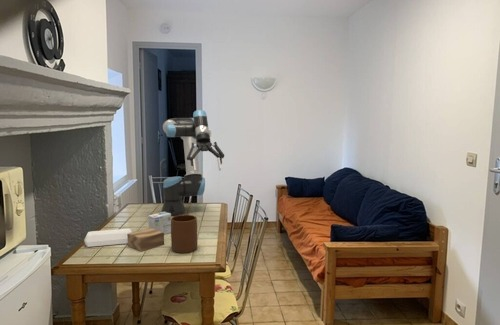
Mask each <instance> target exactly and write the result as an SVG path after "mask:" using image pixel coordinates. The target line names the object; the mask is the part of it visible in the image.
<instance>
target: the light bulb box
mask: <svg viewBox="0 0 500 325" xmlns="http://www.w3.org/2000/svg"><path fill="white" fill-rule="evenodd" d="M171 218H172V216H171V214H170V213H167V212H162V211H161V212H158V213H154V214H148V216H147V220H148V228H152V229H155V230H158V231H160V232H163V233H164V235H166V234H167V235H168V234H171Z"/></svg>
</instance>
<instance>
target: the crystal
mask: <svg viewBox="0 0 500 325" xmlns="http://www.w3.org/2000/svg"><path fill="white" fill-rule="evenodd" d="M132 232H133V230H132V229H131V228H120V229H105V230H93V231H88V232H87V234H86V236H85V237H84V240H83V241H84V244H85V246H86V247H88V248H89V247H99V246H113V245H123V244H128V238H127V234H128V233H132Z"/></svg>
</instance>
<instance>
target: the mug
mask: <svg viewBox="0 0 500 325" xmlns="http://www.w3.org/2000/svg"><path fill="white" fill-rule="evenodd" d="M170 239H171V242H170V243H171V250H172V251H173V252H175V253H178V254H188V253H192V252H195V251H196V250H197V248H198V219H197V217H196V216H195V215H191V214H189V213H187V212H185V213H184V214H182V215H178V216H171V233H170Z"/></svg>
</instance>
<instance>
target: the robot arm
mask: <svg viewBox="0 0 500 325" xmlns="http://www.w3.org/2000/svg"><path fill="white" fill-rule="evenodd" d="M208 123H209V122H208V116H207V113H206V111H205V110H203V109H197V110H194V112H193V114H192V117H173V118H168V119H167V120H165V121H164V122H163V123H162V130H163V132H164V133H165V135H166V137H167V138H180V139H181V140H183V150H184V161H185V173H186V174H185V175H184V177H183V178H182V176H171V177H167V178H165V179H164V180H163V183H162V184H163V186H162V187H163V203H162V207H161V208H162V209H161V212H167V213H170V214H171V217H175V216H179V215H184V214H185V213H186V208H185V205H184V202H183V197H195V196H196V197H197V196H203V194H204V193H205V189H206V178H205V177H203V175H202V173H201V172H200V165H199V157H198V156H199V155H198V154H199V153H200V152H209V153H210V154H212V155H213V156H215V158H216V159H217V165H218V171H221V170H222V164H223V159H224V158H225V153H224V152H223V150H221V148H220V147H219V146H218V144H217V141H214V142H211V136H210V131H209V124H208Z"/></svg>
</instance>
